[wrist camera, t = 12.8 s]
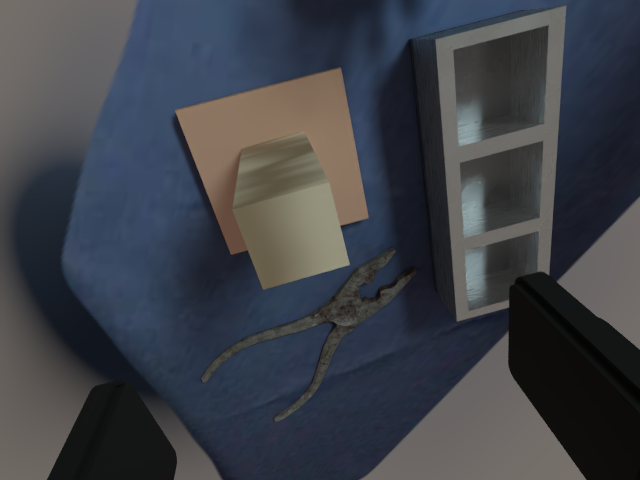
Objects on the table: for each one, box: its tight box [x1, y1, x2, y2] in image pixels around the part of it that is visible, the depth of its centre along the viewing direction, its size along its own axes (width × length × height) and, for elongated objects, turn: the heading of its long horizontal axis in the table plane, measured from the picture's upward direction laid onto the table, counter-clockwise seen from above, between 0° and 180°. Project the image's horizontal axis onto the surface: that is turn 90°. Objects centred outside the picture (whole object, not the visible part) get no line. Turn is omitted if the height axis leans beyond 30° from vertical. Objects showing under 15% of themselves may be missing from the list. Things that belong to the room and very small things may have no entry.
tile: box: [175, 67, 369, 255], centre depth 26 cm, size 10×10×1 cm
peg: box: [232, 131, 350, 290], centre depth 21 cm, size 4×4×10 cm
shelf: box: [409, 6, 566, 321], centre depth 27 cm, size 7×19×4 cm, turn 13°
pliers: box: [201, 248, 417, 422], centre depth 33 cm, size 10×1×20 cm
